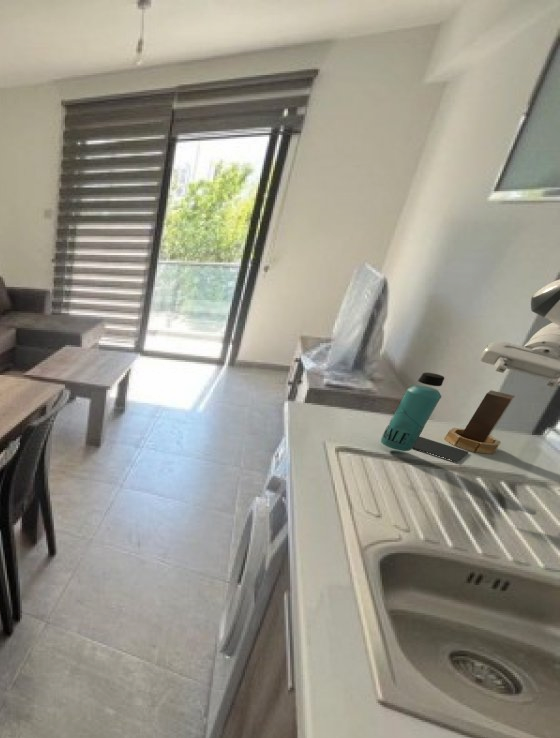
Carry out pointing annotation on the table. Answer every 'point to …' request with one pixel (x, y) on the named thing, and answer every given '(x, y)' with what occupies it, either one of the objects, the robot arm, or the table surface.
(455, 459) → the mat
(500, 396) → the peg
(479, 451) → the ring stand
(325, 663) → the table surface
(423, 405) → the beverage bottle
